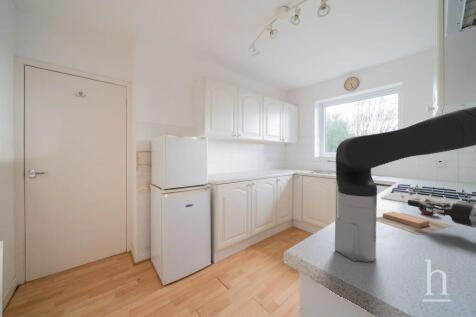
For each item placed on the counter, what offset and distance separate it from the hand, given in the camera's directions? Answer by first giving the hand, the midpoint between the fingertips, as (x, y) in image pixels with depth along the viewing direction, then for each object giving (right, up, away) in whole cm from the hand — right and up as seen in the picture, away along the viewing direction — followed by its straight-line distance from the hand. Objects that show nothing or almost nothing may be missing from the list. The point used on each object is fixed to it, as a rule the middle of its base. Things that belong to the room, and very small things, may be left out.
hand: (408, 202), depth 72 cm
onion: (+18, -9, +10) cm, 22 cm away
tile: (+2, -7, -4) cm, 9 cm away
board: (0, -9, 0) cm, 9 cm away
